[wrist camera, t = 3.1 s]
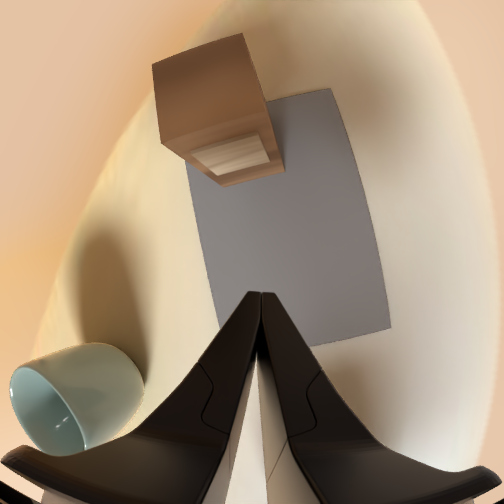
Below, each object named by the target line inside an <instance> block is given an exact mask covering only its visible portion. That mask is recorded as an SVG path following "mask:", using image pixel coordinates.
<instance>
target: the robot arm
mask: <svg viewBox="0 0 504 504" xmlns="http://www.w3.org/2000/svg"><path fill="white" fill-rule="evenodd" d="M256 355H257V374H258V387H259V400H260V413H261V426H262V438H263V451H264V463H265V476H266V489H267V501H268V504H474V500H473V499H474V498H476V497H478V496H480V495H482V494H484V493H486V492H488V491H489V490H491V489H493V488H495V487H497V486H498V485H500V484H501V483H502V481H501V479H500V478H499V476H498V475H497V474H496V473H494V472H493V471H491V470H490V469H488V468H486V467H484V466H476V467H473V468H470V469H467V470H465V471H461V472H447V471H442V470H439V469H436V468H433V467H431V466H428V465H426V464H423V463H421V462H418V461H416V460H414V459H411V458H409V457H406V456H404V455H402V454H400V453H397V452H395V451H393V450H391V449H389V448H387V447H385V446H384V445H383V444H381V443H380V442H379V441H378V440H377V439H376V438H375V437H374V436H373V435H372V434H371V433H370V432H369V430H368V429H367V428H366V427H365V426H364V424H363V423H362V422H361V421H360V420H359V418H358V417H357V416H356V415H355V414H354V412H353V411H352V410H351V409H350V408H349V406H348V405H347V404H346V403H345V401H344V400H343V399H342V397H341V396H340V395H339V394H338V392H337V391H336V389H335V388H334V386H333V385H332V383H331V382H330V380H329V379H328V377H327V375H326V374H325V372H324V371H323V370H322V368H321V366H320V364H319V363H318V361H317V359H316V358H315V356H314V355H313V353H312V351H311V350H310V348H309V347H308V345H307V343H306V342H305V340H304V338H303V337H302V335H301V334H300V332H299V330H298V329H297V327H296V326H295V324H294V322H293V321H292V319H291V318H290V316H289V314H288V313H287V311H286V309H285V308H284V306H283V305H282V303H281V301H280V300H279V298H278V296H277V295H276V293H274V292H262V293H261V292H260V291H247V292H246V294H245V295H244V297H243V298H242V299H241V301H240V302H239V304H238V305H237V306H236V308H235V309H234V311H233V312H232V314H231V315H230V316H229V318H228V319H227V321H226V322H225V323H224V325H223V326H222V328H221V329H220V330H219V332H218V333H217V335H216V336H215V337H214V339H213V340H212V342H211V343H210V344H209V346H208V347H207V349H206V350H205V351H204V353H203V354H202V355H201V357H200V358H199V360H198V362H197V363H196V364H195V365H194V366H193V368H192V369H191V370H190V372H189V373H188V374H187V376H186V377H185V378H184V379H183V381H182V382H181V383H180V384H179V385H178V386H177V388H176V389H175V390H174V391H173V392H172V393H171V394H170V395H169V396H168V397H167V398H166V399H165V400H164V401H163V402H162V403H161V404H160V405H159V406H158V407H157V408H156V409H155V410H154V411H153V412H152V413H151V414H150V415H149V416H148V417H147V418H146V419H145V420H144V421H143V422H142V423H141V424H140V425H139V426H138V427H137V428H135V429H134V430H133V431H131V432H130V433H128V434H126V435H124V436H122V437H120V438H117V439H115V440H112V441H109V442H107V443H104V444H101V445H98V446H95V447H93V448H90V449H87V450H84V451H81V452H78V453H75V454H71V455H67V456H54V455H49V454H46V453H44V452H42V451H39V450H37V449H35V448H33V447H30V446H27V445H21V446H19V447H17V448H16V449H13V450H11V451H10V452H8V453H7V454H6V455H5V456H4V457H3V458H2V459H1V463H2V464H3V465H5V466H6V467H7V468H9V469H10V470H12V471H13V472H15V473H17V474H18V475H20V476H21V477H23V478H25V479H26V480H28V481H30V482H32V483H33V484H35V485H37V486H38V487H40V488H42V489H44V493H43V496H42V500H41V504H225V500H226V496H227V492H228V488H229V483H230V479H231V475H232V470H233V466H234V461H235V457H236V452H237V448H238V443H239V439H240V434H241V430H242V425H243V420H244V416H245V411H246V406H247V402H248V397H249V392H250V387H251V383H252V378H253V373H254V368H255V362H256ZM0 504H40V503H39V502H37V501H35V500H33V499H32V498H30V497H28V496H26V495H24V494H22V493H20V492H19V491H17V490H15V489H14V488H12V487H10V486H9V485H7V484H5V483H4V482H2V481H0ZM494 504H504V499H502V500H500V501H498V502H496V503H494Z"/></svg>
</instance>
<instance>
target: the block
mask: <svg viewBox="0 0 504 504" xmlns="http://www.w3.org/2000/svg"><path fill="white" fill-rule="evenodd" d="M152 71H153V81H154V91H155V100H156V108H157V117H158V124H159V132H160V139H161V144H163V145H164V146H166V147H167V148H168V149H170V150H171V151H173V152H174V153H176V154H177V155H178V156H180V157H181V158H183V159H184V160H185V161H187V162H188V163H190V164H191V165H193V166H194V167H195V168H197V169H198V170H200V171H201V172H202V173H204V174H205V175H207V176H208V177H209V178H211V179H212V180H213V181H215V182H216V183H218V184H219V185H220V186H222V187H223V188H224V187H228V186H232V185H235V184H239V183H243V182H247V181H250V180H254V179H258V178H262V177H266V176H270V175H274V174H278V173H282V172H285V170H284V166H283V162H282V158H281V154H280V151H279V147H278V143H277V139H276V136H275V132H274V128H273V125H272V121H271V118H270V114H269V111H268V108H267V105H266V102H265V98H264V95H263V92H262V89H261V86H260V83H259V80H258V77H257V74H256V71H255V68H254V65H253V62H252V59H251V56H250V54H249V51H248V48H247V45H246V42H245V39H244V37H243V34H242V33H240V34H237V35H233V36H230V37H226V38H223V39H220V40H216V41H213V42H210V43H207V44H204V45H201V46H198V47H195V48H192V49H190V50H187V51H184V52H181V53H179V54H176V55H174V56H171V57H169V58H166V59H164V60H161V61H159V62H156V63H154V64H152Z"/></svg>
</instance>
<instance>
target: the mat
mask: <svg viewBox="0 0 504 504" xmlns="http://www.w3.org/2000/svg"><path fill="white" fill-rule="evenodd" d="M266 105H267V108H268V111H269V114H270V118H271V121H272V125H273V128H274V132H275V136H276V139H277V143H278V147H279V151H280V154H281V158H282V162H283V166H284V170H285V172H282V173H278V174H274V175H270V176H266V177H262V178H258V179H254V180H250V181H247V182H243V183H239V184H235V185H232V186H228V187H224V188H223V187H222V186H220V185H219V184H218V183H216V182H215V181H213V180H212V179H211V178H209V177H208V176H207V175H205V174H204V173H202V172H201V171H200V170H198V169H197V168H195V167H194V166H193V165H191V164H190V163H188V162H187V161H185V164H186V169H187V175H188V180H189V186H190V191H191V196H192V202H193V207H194V212H195V217H196V222H197V227H198V232H199V237H200V242H201V247H202V251H203V256H204V261H205V265H206V270H207V275H208V279H209V284H210V288H211V292H212V297H213V301H214V306H215V310H216V314H217V318H218V323H219V327H220V329H221V328H222V326H223V325H224V323H225V322H226V321H227V319H228V318H229V316H230V315H231V314H232V312H233V311H234V309H235V308H236V306H237V305H238V304H239V302H240V301H241V299H242V298H243V297H244V295H245V294H246V292H247V291H260V292H261V293H262V292H274V293H276V295H277V296H278V298H279V300H280V301H281V303H282V305H283V306H284V308H285V309H286V311H287V313H288V314H289V316H290V318H291V319H292V321H293V322H294V324H295V326H296V327H297V329H298V330H299V332H300V334H301V335H302V337H303V338H304V340H305V342H306V343H307V345H308V347H311V346H316V345H321V344H326V343H331V342H335V341H340V340H344V339H349V338H353V337H357V336H361V335H366V334H370V333H374V332H377V331H381V330H385V329H389V328H391V323H390V316H389V309H388V302H387V296H386V290H385V285H384V279H383V274H382V268H381V263H380V258H379V253H378V249H377V244H376V239H375V235H374V230H373V226H372V222H371V218H370V214H369V210H368V206H367V202H366V198H365V194H364V190H363V187H362V183H361V179H360V176H359V172H358V169H357V165H356V162H355V159H354V155H353V152H352V149H351V146H350V143H349V140H348V136H347V133H346V130H345V127H344V124H343V122H342V119H341V116H340V113H339V110H338V107H337V104H336V102H335V99H334V96H333V94H332V91H331V88H330V89H324V90H319V91H314V92H309V93H304V94H299V95H295V96H290V97H286V98H282V99H277V100H273V101H269V102H266ZM256 356H257V355H256Z"/></svg>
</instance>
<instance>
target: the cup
mask: <svg viewBox="0 0 504 504" xmlns="http://www.w3.org/2000/svg"><path fill="white" fill-rule="evenodd" d="M143 396H144V383H143V379H142V376H141V374H140V372H139V370H138V368H137V367H136V365H135V364H134V363H133V361H132V360H131V359H130V358H129V357H128V356H127V355H126V354H125V353H124V352H123V351H121V350H120V349H118V348H116V347H114V346H112V345H110V344H106V343H101V342H93V343H83V344H79V345H75V346H71V347H68V348H65V349H62V350H59V351H56V352H53V353H51V354H48V355H45V356H42V357H40V358H37V359H34V360H32V361H29V362H27V363H24V364H22V365H21V366H19V367H18V368H17V369H16V370H15V371H14V373H13V375H12V377H11V381H10V398H11V403H12V406H13V409H14V412H15V414H16V416H17V418H18V420H19V422H20V424H21V426H22V427H23V429H24V430H25V432H26V434H27V435H28V436H29V437H30V439H31V440H32V441H33V443H34V444H35V445H36V446H37V447H38V448H39V449H40V450H41V451H42V452H44V453H46V454H49V455H54V456H67V455H71V454H75V453H78V452H81V451H84V450H87V449H90V448H93V447H95V446H98V445H101V444H104V443H107V442H109V441H112V440H113V439H114V438H115V437H116V436H117V435H118V434H119V433H120V432H121V431H122V430H123V429H124V428H125V427H126V426H127V425H128V424H129V422H130V421H131V420H132V419H133V417H134V416H135V415H136V413H137V411H138V410H139V408H140V405H141V403H142V400H143Z"/></svg>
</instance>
